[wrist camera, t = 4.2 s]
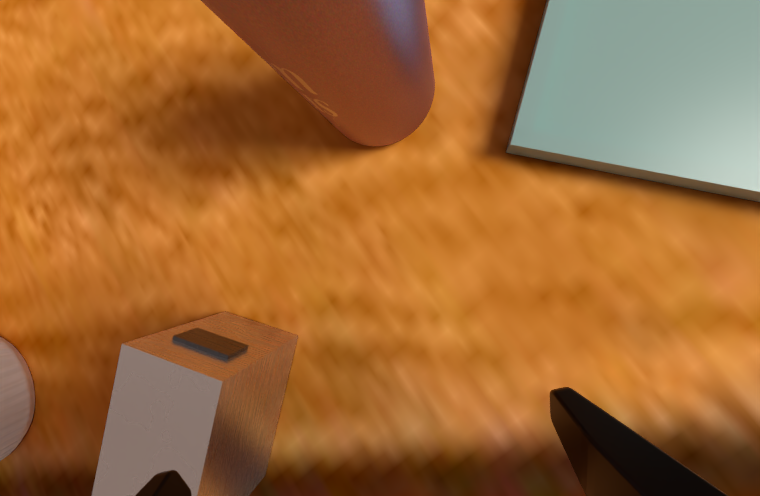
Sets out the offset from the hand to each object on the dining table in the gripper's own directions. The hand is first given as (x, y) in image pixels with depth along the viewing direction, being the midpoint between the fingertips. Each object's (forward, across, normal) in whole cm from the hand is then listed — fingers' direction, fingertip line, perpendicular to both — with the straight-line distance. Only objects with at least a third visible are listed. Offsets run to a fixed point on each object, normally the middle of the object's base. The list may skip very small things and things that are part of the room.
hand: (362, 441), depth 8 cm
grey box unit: (+11, +9, +8) cm, 16 cm away
